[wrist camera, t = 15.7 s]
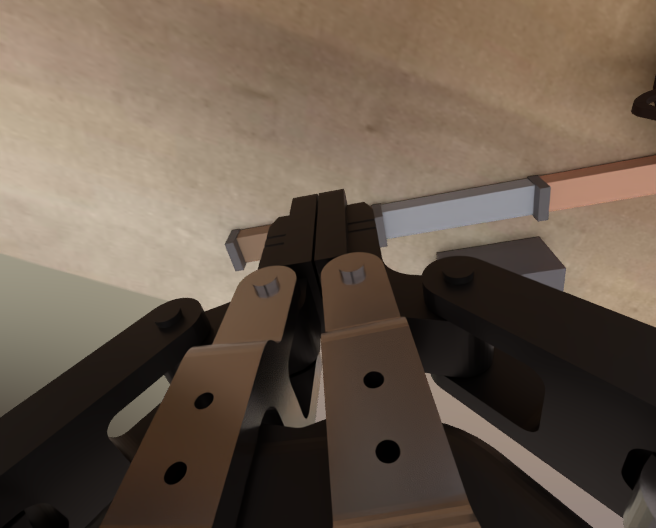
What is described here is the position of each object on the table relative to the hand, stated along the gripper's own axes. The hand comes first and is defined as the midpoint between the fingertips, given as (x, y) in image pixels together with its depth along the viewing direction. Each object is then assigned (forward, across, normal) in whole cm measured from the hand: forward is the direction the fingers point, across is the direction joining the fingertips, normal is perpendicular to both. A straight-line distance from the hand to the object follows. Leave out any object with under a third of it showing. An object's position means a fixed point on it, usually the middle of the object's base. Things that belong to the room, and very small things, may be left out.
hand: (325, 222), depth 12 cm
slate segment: (+14, -7, +8) cm, 17 cm away
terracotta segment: (+14, -17, +8) cm, 23 cm away
